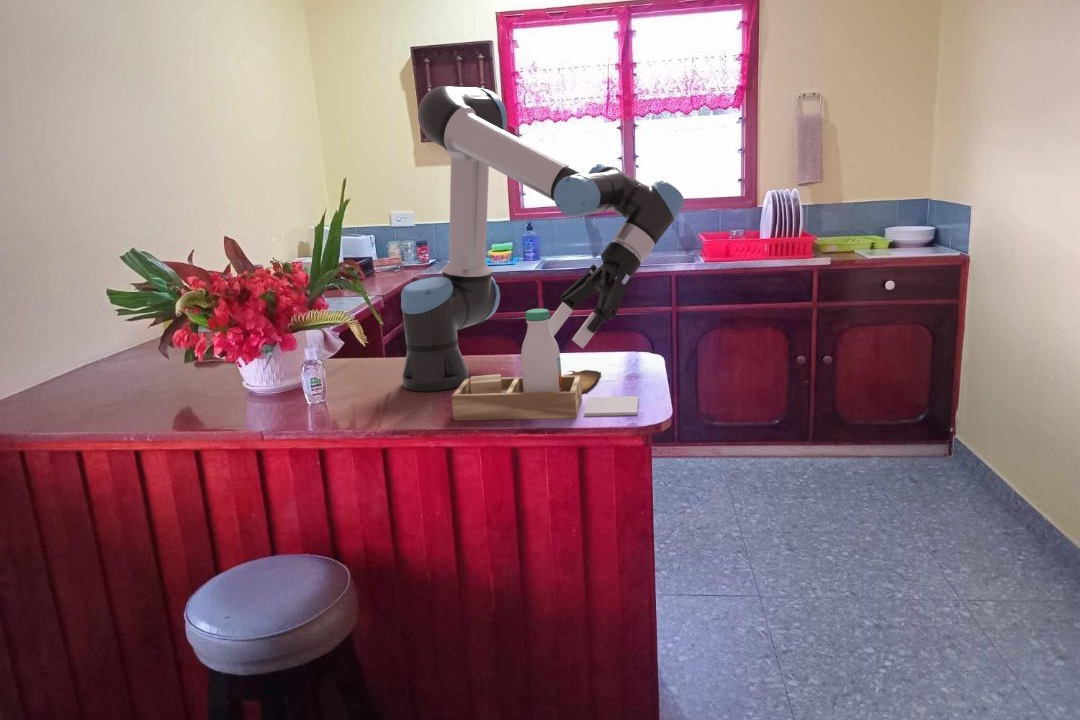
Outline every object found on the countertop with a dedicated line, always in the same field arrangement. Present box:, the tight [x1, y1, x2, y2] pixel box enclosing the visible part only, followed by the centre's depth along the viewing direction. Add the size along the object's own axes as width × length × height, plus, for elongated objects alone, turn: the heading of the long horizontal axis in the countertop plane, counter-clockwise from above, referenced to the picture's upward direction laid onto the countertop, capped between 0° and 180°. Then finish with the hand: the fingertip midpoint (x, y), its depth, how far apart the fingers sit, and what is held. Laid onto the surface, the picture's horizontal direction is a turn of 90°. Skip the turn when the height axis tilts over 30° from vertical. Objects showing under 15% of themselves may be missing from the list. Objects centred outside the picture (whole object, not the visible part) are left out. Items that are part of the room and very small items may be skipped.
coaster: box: [584, 395, 639, 417], centre depth 154 cm, size 10×10×1 cm
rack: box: [451, 375, 583, 421], centre depth 157 cm, size 12×24×5 cm, turn 82°
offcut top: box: [470, 373, 502, 394], centre depth 157 cm, size 5×6×4 cm
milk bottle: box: [520, 308, 563, 393], centre depth 154 cm, size 8×8×20 cm
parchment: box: [562, 369, 602, 395], centre depth 170 cm, size 25×10×1 cm, turn 159°
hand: (562, 337), depth 154 cm, fingers open, 13 cm apart
